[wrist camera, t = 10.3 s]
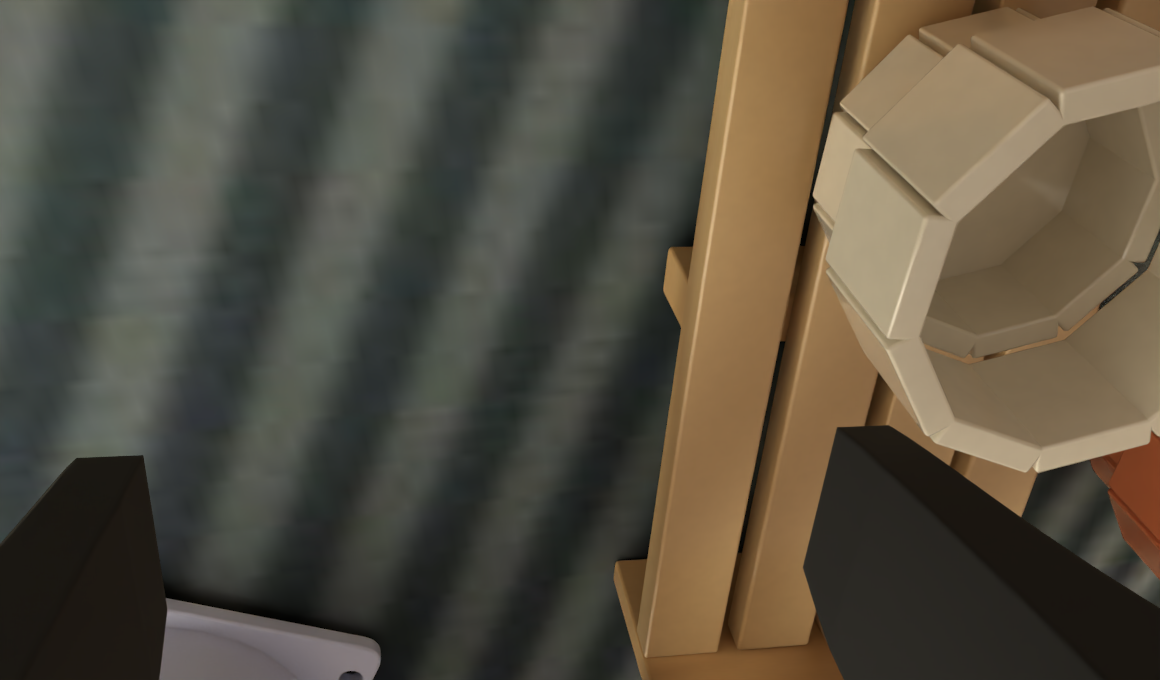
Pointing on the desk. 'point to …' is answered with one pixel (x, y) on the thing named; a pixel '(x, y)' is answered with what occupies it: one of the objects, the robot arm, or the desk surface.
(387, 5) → the desk surface
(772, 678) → the bowl rack
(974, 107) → the cream bowl
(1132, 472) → the terracotta bowl
